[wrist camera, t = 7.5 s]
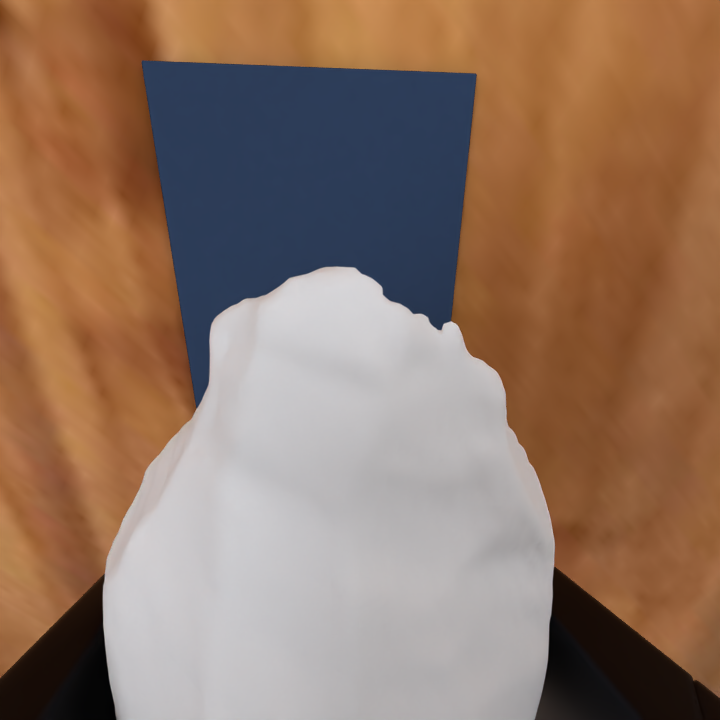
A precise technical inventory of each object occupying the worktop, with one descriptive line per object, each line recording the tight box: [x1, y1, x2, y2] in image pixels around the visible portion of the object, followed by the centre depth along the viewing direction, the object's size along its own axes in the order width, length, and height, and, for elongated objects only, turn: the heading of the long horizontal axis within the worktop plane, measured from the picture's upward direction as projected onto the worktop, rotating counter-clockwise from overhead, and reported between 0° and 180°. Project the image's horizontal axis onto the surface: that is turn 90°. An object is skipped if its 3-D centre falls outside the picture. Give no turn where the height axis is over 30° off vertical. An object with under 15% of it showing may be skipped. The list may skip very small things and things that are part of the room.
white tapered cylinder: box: [103, 266, 555, 720], centre depth 7 cm, size 6×12×6 cm, turn 174°
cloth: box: [142, 61, 477, 408], centre depth 17 cm, size 18×10×1 cm, turn 179°
